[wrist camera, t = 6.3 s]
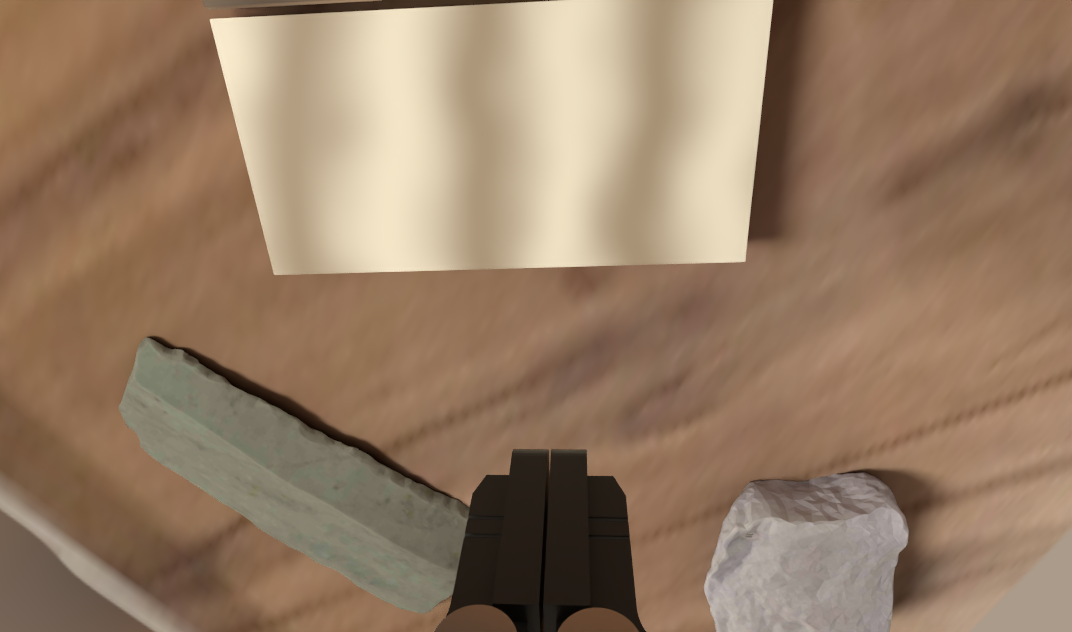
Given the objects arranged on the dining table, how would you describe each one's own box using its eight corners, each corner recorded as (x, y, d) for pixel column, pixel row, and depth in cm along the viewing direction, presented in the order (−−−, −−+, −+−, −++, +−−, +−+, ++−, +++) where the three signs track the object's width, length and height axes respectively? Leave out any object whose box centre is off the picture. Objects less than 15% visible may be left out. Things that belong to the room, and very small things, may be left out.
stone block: (705, 592, 42) (871, 613, 39) (703, 659, 37) (890, 686, 35) (704, 449, 36) (895, 461, 34) (702, 508, 32) (921, 526, 30)
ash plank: (758, -10, 23) (774, -12, 21) (733, 245, 28) (745, 261, 26) (235, 18, 24) (209, 19, 23) (292, 258, 29) (274, 274, 27)
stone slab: (425, 590, 42) (512, 525, 37) (413, 629, 40) (504, 566, 35) (110, 416, 37) (162, 312, 32) (76, 451, 34) (125, 344, 29)
